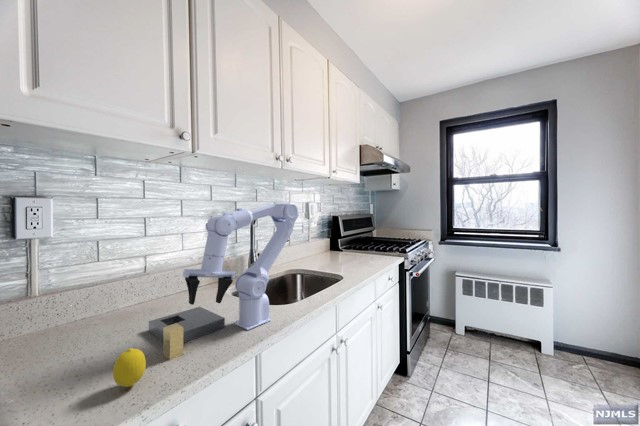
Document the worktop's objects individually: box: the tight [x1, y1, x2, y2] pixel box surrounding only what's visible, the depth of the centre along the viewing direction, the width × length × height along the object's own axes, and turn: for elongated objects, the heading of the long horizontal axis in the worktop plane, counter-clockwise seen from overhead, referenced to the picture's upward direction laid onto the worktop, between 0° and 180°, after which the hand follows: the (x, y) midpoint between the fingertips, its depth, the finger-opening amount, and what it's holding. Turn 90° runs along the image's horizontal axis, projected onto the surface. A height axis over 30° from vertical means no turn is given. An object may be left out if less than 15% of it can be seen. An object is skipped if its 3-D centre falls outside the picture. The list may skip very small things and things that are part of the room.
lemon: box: [112, 347, 147, 388], centre depth 54 cm, size 6×6×8 cm
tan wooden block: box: [162, 323, 184, 361], centre depth 66 cm, size 3×4×7 cm
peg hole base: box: [148, 306, 226, 344], centre depth 81 cm, size 16×16×3 cm
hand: (205, 303), depth 74 cm, fingers open, 7 cm apart
